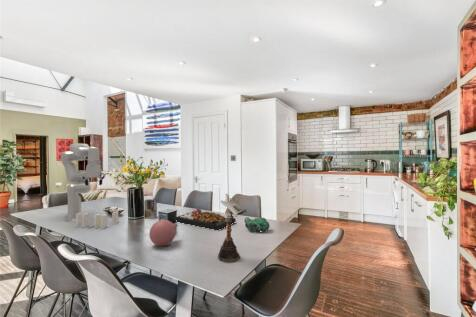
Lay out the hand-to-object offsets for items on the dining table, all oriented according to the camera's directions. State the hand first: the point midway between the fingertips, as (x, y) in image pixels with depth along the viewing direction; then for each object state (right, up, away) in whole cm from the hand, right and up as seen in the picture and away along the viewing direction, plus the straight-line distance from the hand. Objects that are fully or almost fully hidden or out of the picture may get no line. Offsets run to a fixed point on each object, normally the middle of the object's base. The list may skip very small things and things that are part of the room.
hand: (93, 185), depth 183 cm
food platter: (+84, -34, +15) cm, 91 cm away
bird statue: (+109, -33, -55) cm, 126 cm away
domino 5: (+13, -32, +8) cm, 36 cm away
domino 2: (-5, -32, -1) cm, 32 cm away
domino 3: (+5, -32, -4) cm, 32 cm away
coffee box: (+33, -33, +28) cm, 55 cm away
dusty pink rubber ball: (+66, -33, -35) cm, 82 cm away
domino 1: (-11, -32, 0) cm, 33 cm away
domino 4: (+11, -32, -5) cm, 34 cm away
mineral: (+125, -33, -7) cm, 130 cm away
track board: (0, -32, -3) cm, 32 cm away
